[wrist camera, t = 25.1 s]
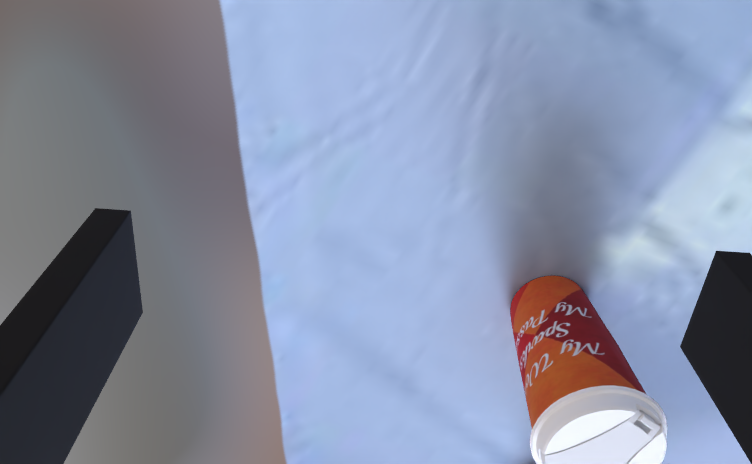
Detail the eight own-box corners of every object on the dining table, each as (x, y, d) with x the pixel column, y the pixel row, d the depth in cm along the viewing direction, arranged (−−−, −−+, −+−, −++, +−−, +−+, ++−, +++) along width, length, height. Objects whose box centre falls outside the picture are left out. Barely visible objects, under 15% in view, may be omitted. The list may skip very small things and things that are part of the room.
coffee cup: (550, 243, 50) (612, 380, 37) (622, 301, 52) (705, 448, 39) (472, 313, 53) (504, 462, 40) (544, 365, 55) (596, 521, 42)
